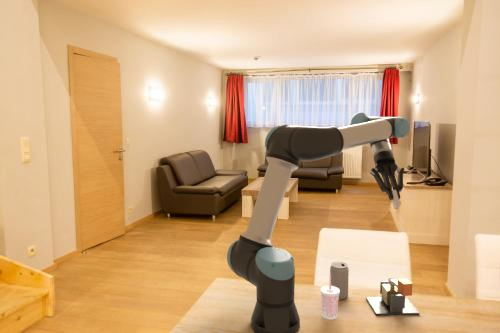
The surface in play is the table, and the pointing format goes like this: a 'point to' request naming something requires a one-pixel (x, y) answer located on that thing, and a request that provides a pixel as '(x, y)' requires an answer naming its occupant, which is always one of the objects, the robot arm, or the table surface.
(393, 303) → the valve body
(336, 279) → the beverage can
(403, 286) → the valve lever
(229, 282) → the table surface
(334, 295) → the beverage cup
